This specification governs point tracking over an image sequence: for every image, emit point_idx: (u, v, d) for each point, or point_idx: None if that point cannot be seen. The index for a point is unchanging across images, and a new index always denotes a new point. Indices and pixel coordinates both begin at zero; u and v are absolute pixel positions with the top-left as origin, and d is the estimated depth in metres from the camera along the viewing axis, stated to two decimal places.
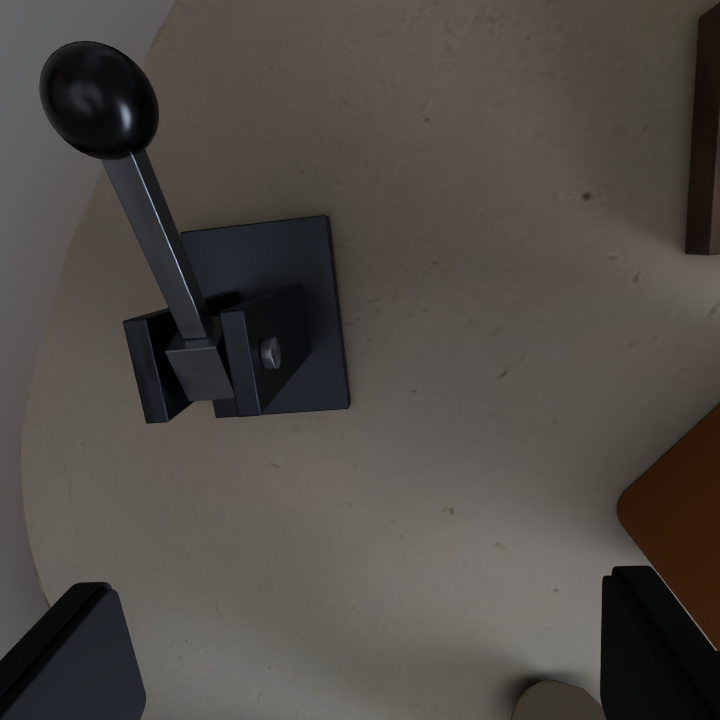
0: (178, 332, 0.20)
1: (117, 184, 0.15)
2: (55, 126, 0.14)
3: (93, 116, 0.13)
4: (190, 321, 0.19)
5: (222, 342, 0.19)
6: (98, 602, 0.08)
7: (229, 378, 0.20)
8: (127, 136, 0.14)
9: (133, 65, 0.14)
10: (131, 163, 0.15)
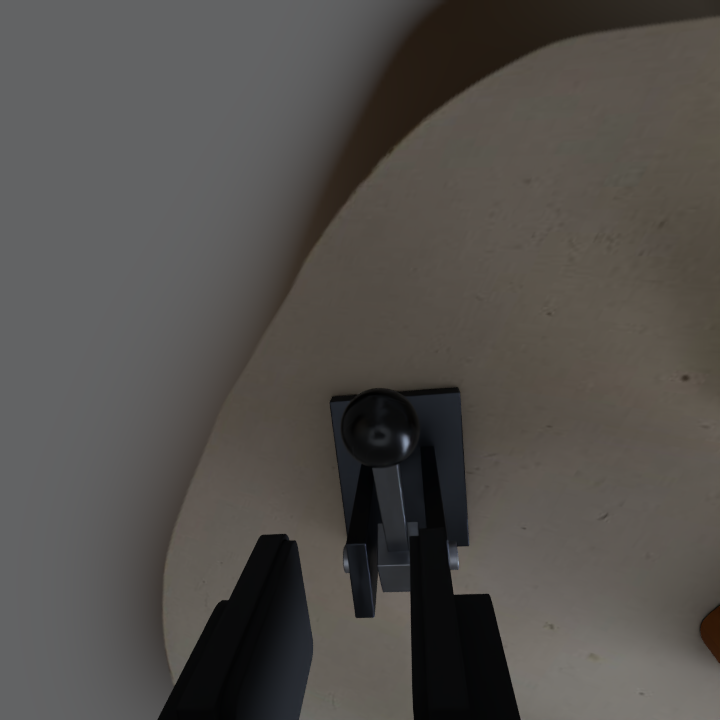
0: (379, 541, 0.24)
1: (377, 473, 0.20)
2: (355, 457, 0.18)
3: (391, 458, 0.18)
4: (399, 542, 0.23)
5: None
6: (288, 550, 0.09)
7: None
8: None
9: (412, 409, 0.18)
10: None
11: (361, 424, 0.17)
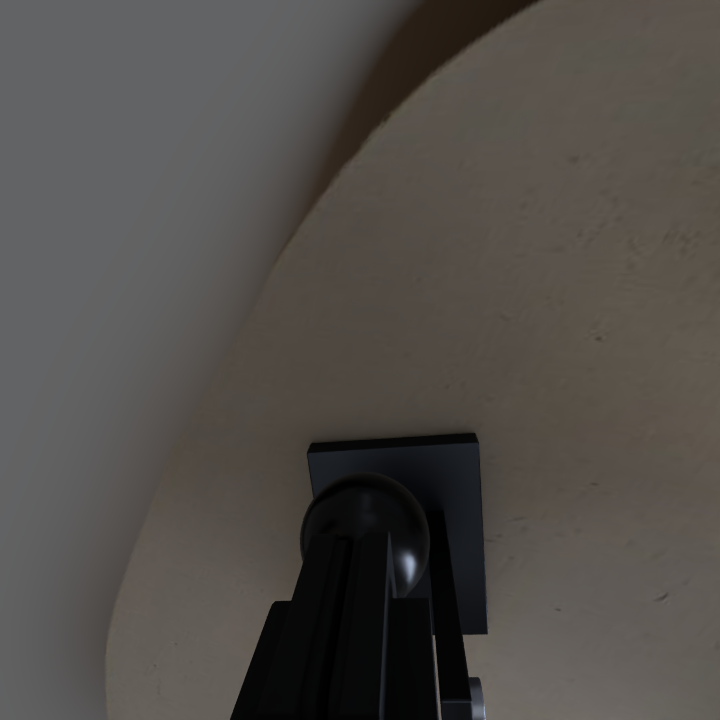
0: None
1: None
2: None
3: None
4: None
5: None
6: (342, 550, 0.09)
7: None
8: (405, 595, 0.11)
9: (417, 512, 0.11)
10: None
11: None
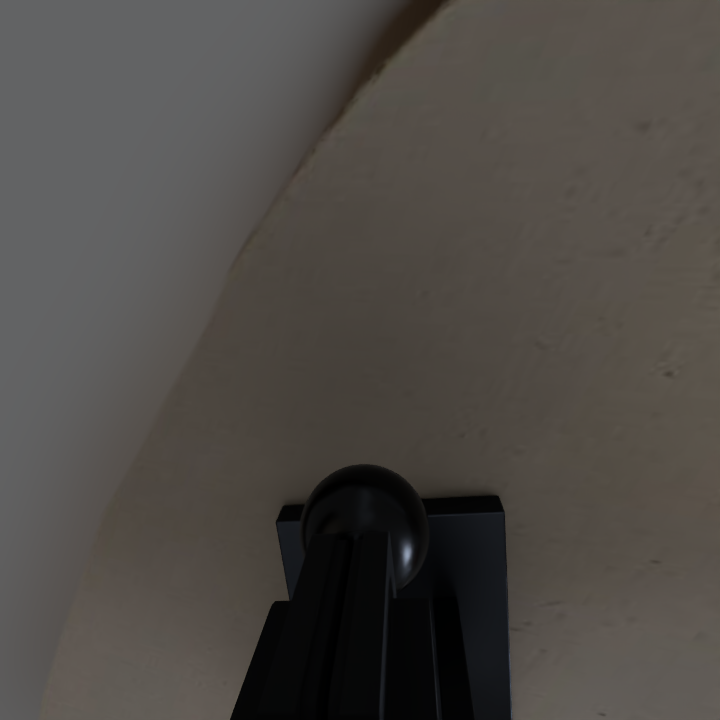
0: None
1: None
2: None
3: None
4: None
5: None
6: (342, 550, 0.09)
7: None
8: (403, 581, 0.10)
9: (416, 493, 0.11)
10: None
11: (332, 492, 0.11)
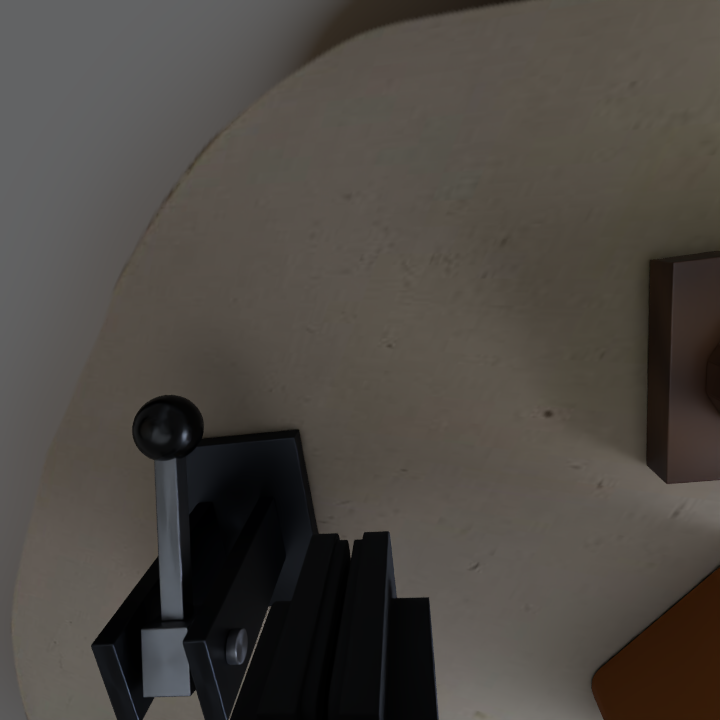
0: (159, 615, 0.22)
1: (158, 477, 0.22)
2: (134, 436, 0.21)
3: (160, 431, 0.21)
4: (173, 600, 0.21)
5: None
6: (342, 550, 0.09)
7: None
8: (176, 444, 0.21)
9: (195, 408, 0.22)
10: (172, 463, 0.22)
11: (146, 404, 0.22)
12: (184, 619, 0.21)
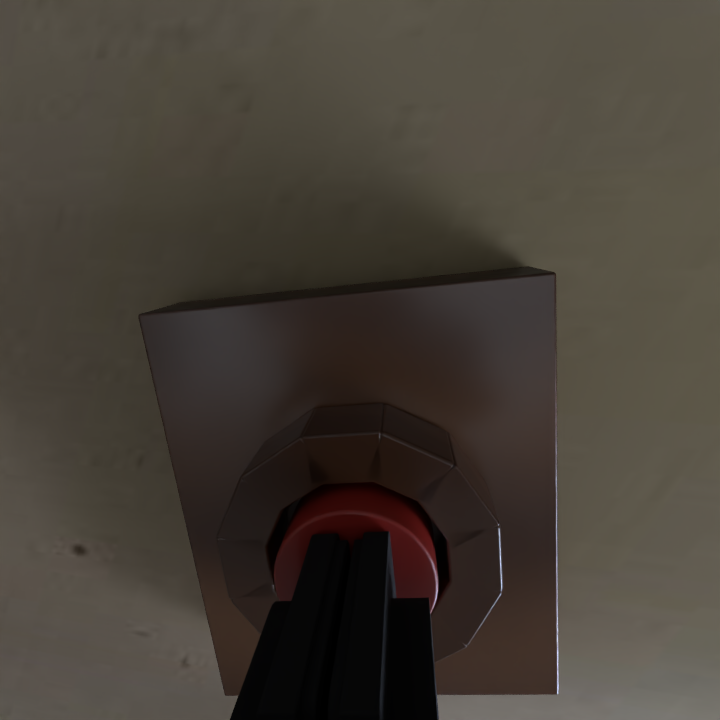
0: None
1: None
2: None
3: None
4: None
5: None
6: (342, 550, 0.09)
7: None
8: None
9: None
10: None
11: None
12: None
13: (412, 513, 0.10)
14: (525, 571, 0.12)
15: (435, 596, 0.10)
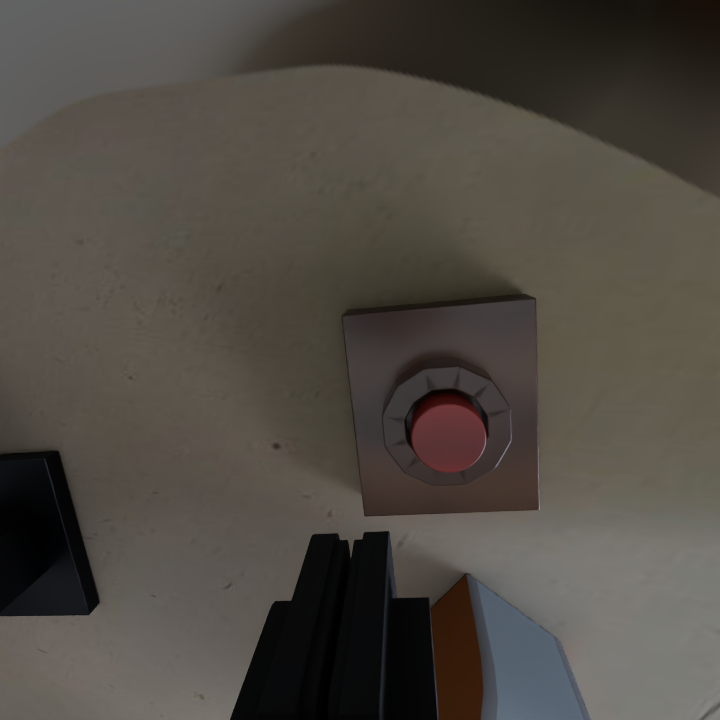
0: None
1: None
2: None
3: None
4: None
5: None
6: (342, 550, 0.09)
7: None
8: None
9: None
10: None
11: None
12: None
13: (473, 408, 0.23)
14: (522, 441, 0.25)
15: (485, 443, 0.22)
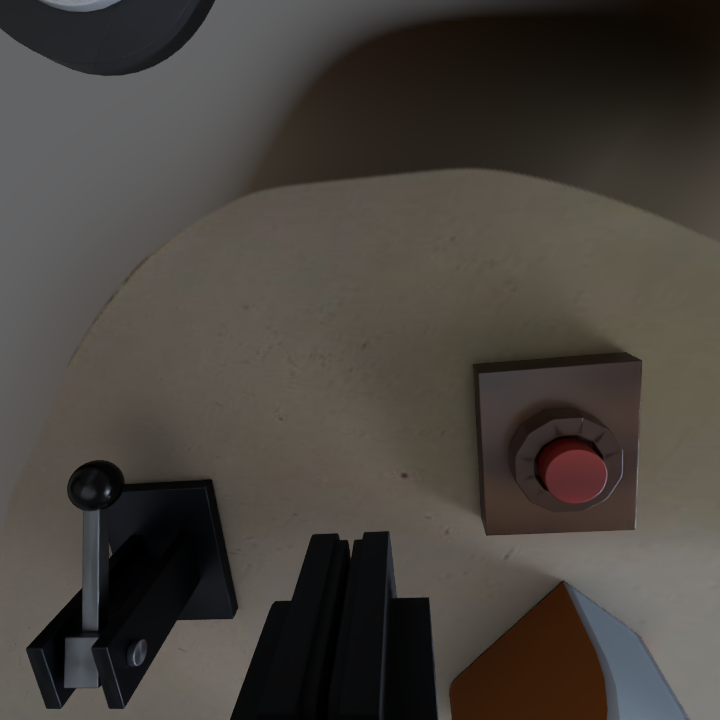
0: (82, 627, 0.29)
1: (86, 523, 0.29)
2: (68, 493, 0.29)
3: (86, 490, 0.28)
4: (91, 616, 0.28)
5: None
6: (342, 550, 0.09)
7: None
8: (98, 500, 0.29)
9: (117, 471, 0.30)
10: (96, 513, 0.29)
11: (78, 468, 0.29)
12: (99, 631, 0.28)
13: (595, 452, 0.28)
14: (624, 474, 0.31)
15: None
